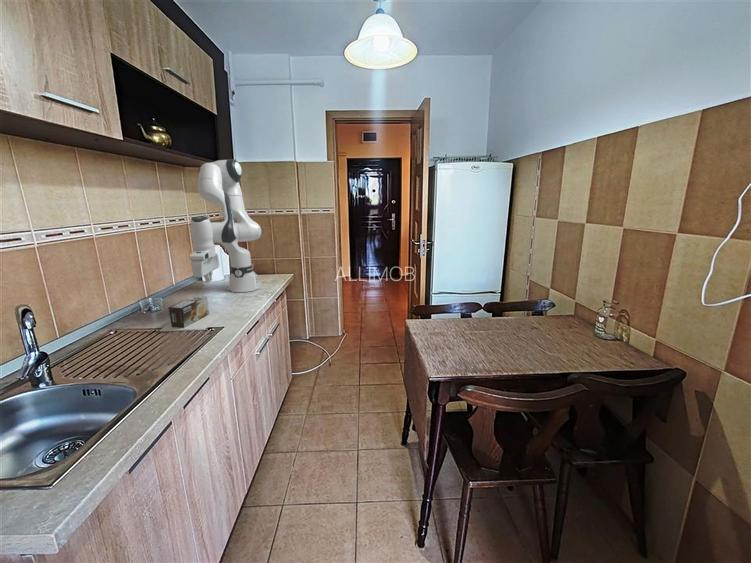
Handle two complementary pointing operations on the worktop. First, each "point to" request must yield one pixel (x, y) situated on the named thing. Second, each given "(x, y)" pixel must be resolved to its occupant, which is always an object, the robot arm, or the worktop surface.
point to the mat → (193, 324)
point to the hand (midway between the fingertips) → (208, 281)
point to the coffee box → (188, 311)
